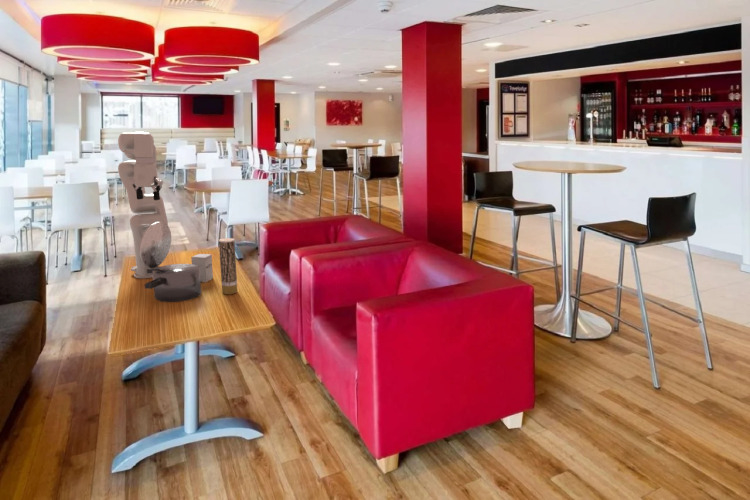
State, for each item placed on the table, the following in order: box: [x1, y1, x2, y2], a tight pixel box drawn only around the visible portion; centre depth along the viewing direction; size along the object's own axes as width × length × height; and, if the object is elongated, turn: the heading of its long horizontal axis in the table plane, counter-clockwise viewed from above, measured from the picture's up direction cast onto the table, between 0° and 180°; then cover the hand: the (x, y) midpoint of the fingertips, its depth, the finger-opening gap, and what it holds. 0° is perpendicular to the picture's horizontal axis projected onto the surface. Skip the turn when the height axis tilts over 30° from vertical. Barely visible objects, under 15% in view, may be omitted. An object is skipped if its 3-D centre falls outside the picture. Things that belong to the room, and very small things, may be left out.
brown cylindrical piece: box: [218, 237, 238, 295], centre depth 250 cm, size 7×7×25 cm
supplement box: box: [191, 253, 214, 283], centre depth 271 cm, size 7×7×13 cm
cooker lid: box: [139, 222, 172, 268], centre depth 247 cm, size 21×21×4 cm
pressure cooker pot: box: [144, 263, 202, 303], centre depth 244 cm, size 23×30×12 cm
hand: (148, 199), depth 248 cm, fingers open, 9 cm apart
